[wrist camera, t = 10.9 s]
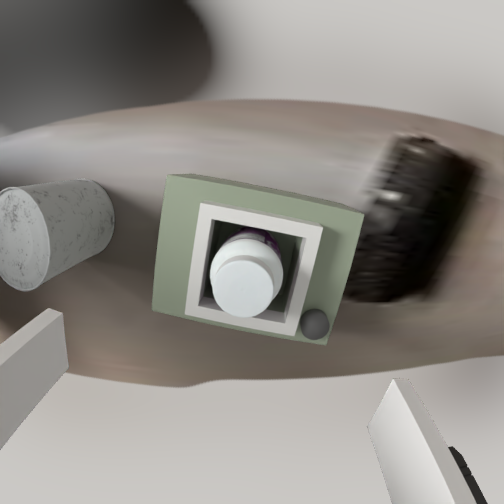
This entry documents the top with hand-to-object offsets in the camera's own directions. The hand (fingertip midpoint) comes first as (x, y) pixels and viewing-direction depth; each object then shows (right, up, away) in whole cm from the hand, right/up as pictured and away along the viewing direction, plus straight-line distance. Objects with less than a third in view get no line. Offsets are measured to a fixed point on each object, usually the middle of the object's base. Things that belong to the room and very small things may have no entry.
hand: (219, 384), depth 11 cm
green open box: (+2, +6, +22) cm, 23 cm away
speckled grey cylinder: (-19, +9, +23) cm, 31 cm away
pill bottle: (+1, +5, +19) cm, 19 cm away
